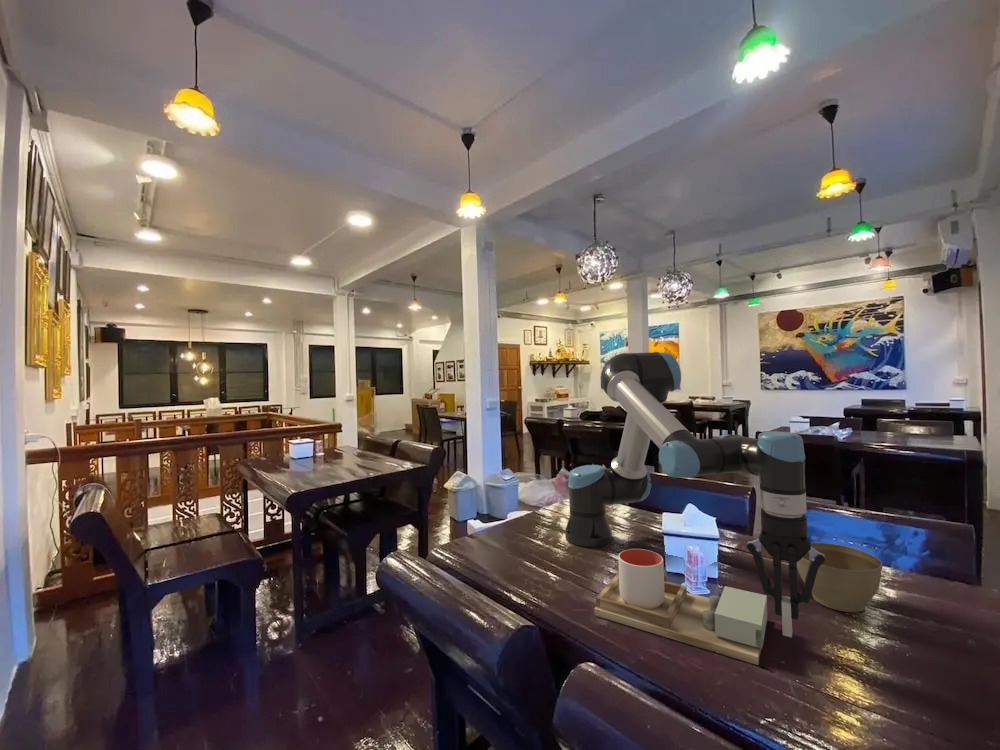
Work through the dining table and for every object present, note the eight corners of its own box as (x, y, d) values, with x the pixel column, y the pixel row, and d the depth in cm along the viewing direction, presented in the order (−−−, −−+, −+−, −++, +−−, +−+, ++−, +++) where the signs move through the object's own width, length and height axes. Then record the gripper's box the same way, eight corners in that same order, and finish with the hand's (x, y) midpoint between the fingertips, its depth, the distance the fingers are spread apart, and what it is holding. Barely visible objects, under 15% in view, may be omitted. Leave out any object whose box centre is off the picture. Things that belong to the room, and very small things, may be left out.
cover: (725, 605, 97) (724, 586, 97) (767, 616, 93) (766, 595, 93) (715, 635, 87) (714, 613, 87) (762, 648, 82) (761, 625, 82)
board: (622, 582, 113) (621, 565, 113) (766, 618, 95) (765, 597, 95) (594, 615, 99) (593, 595, 99) (758, 665, 80) (757, 640, 80)
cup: (668, 613, 96) (666, 567, 96) (621, 610, 98) (619, 565, 98) (661, 590, 105) (659, 549, 105) (618, 588, 107) (616, 547, 107)
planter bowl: (863, 589, 105) (862, 544, 105) (900, 627, 90) (898, 574, 90) (786, 581, 111) (785, 539, 111) (808, 615, 95) (806, 566, 95)
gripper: (742, 512, 86) (747, 632, 86) (825, 523, 78) (830, 654, 78) (747, 502, 92) (751, 614, 92) (824, 511, 84) (828, 633, 84)
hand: (787, 632), depth 85 cm, fingers closed
